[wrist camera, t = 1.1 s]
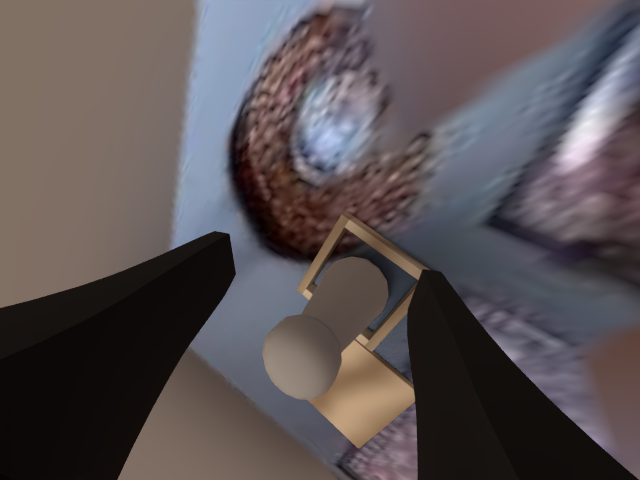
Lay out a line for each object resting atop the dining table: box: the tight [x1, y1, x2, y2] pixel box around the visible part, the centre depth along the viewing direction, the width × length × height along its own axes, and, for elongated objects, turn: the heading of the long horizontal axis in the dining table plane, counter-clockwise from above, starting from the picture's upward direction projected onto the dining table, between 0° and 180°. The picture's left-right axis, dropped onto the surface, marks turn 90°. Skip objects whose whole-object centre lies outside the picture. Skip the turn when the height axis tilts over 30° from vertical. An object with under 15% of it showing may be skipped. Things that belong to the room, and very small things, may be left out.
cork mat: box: [307, 339, 415, 449], centre depth 28 cm, size 11×11×1 cm
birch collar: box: [297, 212, 430, 352], centre depth 24 cm, size 9×9×2 cm
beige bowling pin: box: [262, 256, 389, 399], centre depth 19 cm, size 6×6×13 cm
